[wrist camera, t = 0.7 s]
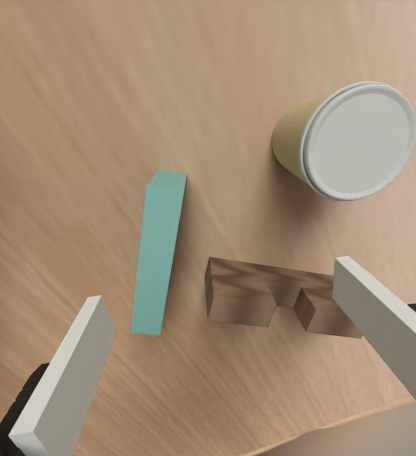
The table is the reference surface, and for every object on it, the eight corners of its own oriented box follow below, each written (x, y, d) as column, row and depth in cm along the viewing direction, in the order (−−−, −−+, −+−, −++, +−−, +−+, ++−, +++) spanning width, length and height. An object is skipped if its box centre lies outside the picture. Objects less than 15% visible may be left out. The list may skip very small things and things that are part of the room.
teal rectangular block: (144, 286, 38) (130, 332, 30) (159, 169, 31) (146, 185, 23) (167, 290, 39) (159, 335, 30) (186, 174, 32) (183, 192, 24)
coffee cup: (342, 164, 32) (419, 185, 21) (272, 185, 33) (311, 216, 22) (336, 85, 29) (424, 61, 18) (257, 110, 29) (295, 103, 18)
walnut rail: (204, 277, 38) (207, 320, 30) (209, 257, 37) (213, 296, 28) (326, 294, 40) (360, 338, 32) (334, 276, 39) (372, 317, 31)
